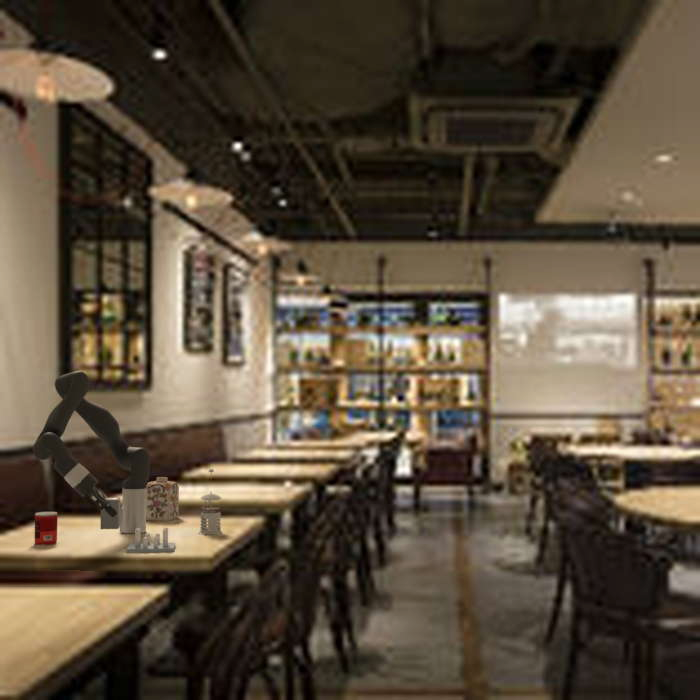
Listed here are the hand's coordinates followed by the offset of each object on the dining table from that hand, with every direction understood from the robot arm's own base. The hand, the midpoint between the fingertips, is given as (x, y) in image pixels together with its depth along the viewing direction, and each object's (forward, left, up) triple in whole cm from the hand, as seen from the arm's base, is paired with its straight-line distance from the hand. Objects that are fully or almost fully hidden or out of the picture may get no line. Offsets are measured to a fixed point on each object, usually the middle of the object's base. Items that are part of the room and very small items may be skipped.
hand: (115, 513), depth 331 cm
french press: (+10, +51, -13) cm, 54 cm away
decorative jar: (-26, +77, -13) cm, 82 cm away
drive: (-2, -1, -5) cm, 5 cm away
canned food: (-34, +7, -13) cm, 37 cm away
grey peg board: (+8, +10, -13) cm, 19 cm away
